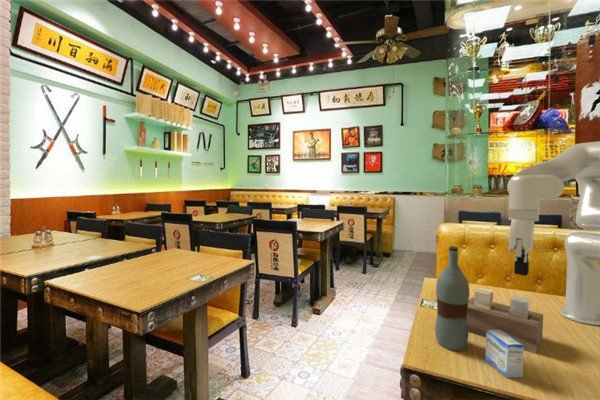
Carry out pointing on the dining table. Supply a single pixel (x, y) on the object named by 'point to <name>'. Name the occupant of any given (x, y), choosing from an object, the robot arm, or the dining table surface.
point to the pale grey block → (520, 307)
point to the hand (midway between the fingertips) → (521, 273)
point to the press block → (506, 324)
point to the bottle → (452, 305)
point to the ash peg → (483, 298)
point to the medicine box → (504, 353)
